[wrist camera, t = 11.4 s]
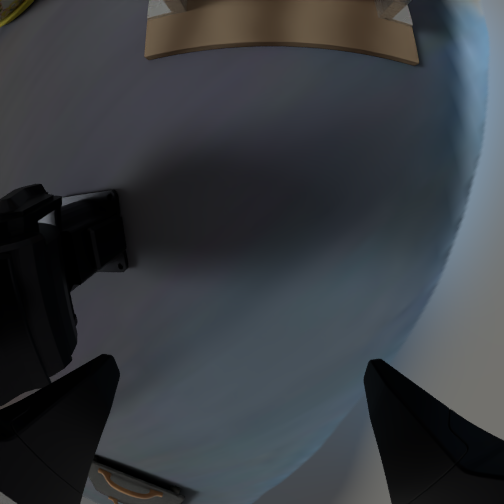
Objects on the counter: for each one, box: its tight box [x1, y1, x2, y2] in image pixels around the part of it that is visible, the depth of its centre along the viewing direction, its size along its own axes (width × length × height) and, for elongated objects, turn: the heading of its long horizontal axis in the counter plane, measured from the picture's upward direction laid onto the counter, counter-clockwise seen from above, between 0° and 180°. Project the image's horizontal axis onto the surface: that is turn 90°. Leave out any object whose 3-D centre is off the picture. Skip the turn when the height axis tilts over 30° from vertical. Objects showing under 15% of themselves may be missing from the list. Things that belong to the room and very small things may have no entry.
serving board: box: [88, 455, 185, 504], centre depth 39 cm, size 39×23×6 cm, turn 160°
